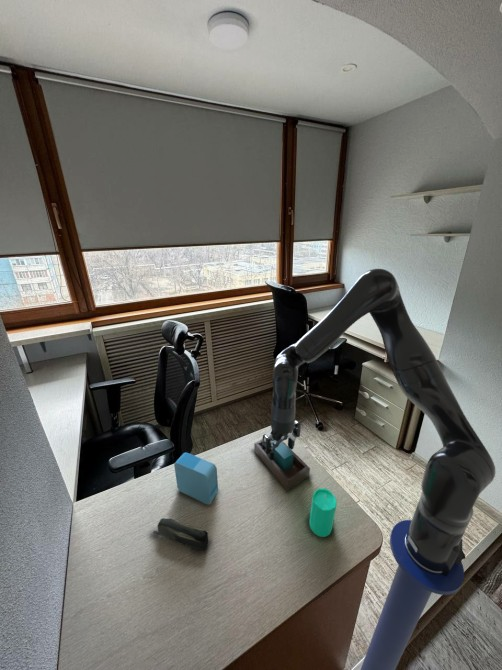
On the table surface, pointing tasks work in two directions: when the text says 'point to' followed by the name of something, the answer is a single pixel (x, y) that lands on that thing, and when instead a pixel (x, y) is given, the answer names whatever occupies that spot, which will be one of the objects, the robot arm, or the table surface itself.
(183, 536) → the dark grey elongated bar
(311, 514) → the candle
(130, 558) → the table surface
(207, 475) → the data package
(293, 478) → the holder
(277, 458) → the block
